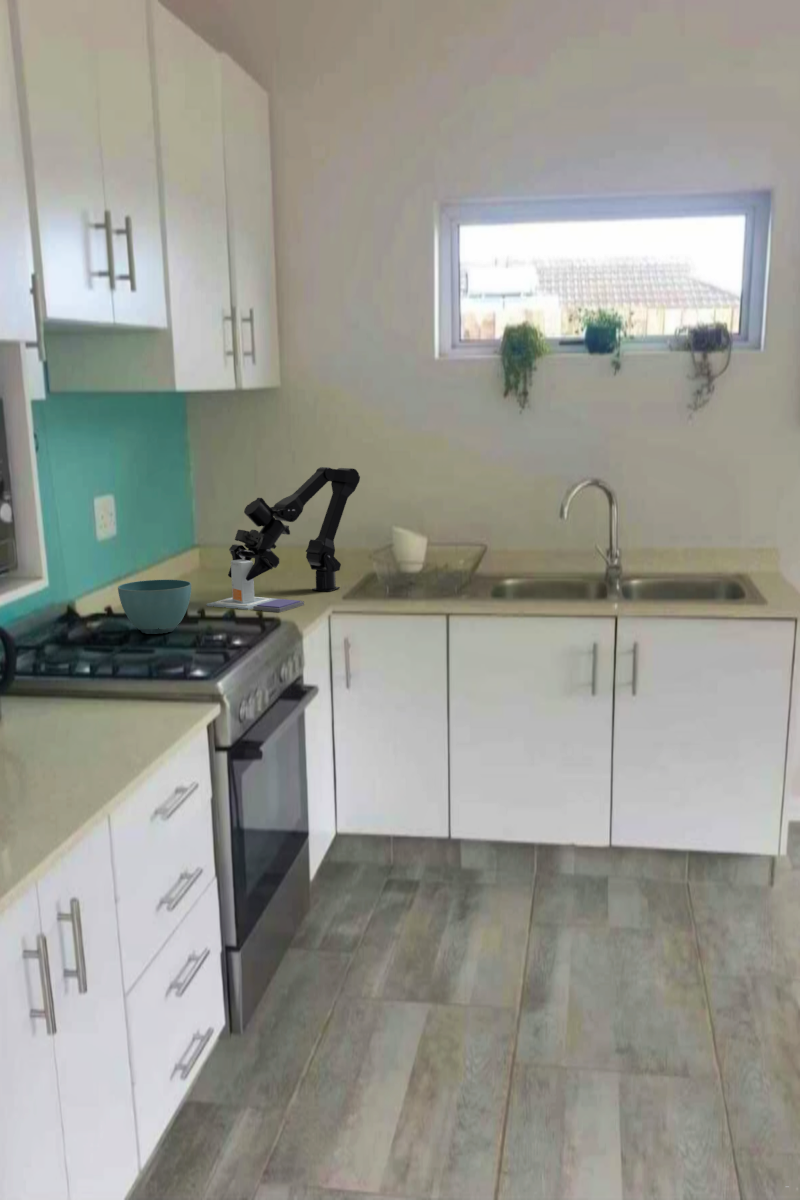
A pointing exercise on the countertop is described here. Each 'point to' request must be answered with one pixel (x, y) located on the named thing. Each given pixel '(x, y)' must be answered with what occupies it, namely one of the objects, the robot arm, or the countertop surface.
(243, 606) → the board
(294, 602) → the ink pad
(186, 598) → the teal bowl
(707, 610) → the countertop surface
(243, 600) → the skincare box
